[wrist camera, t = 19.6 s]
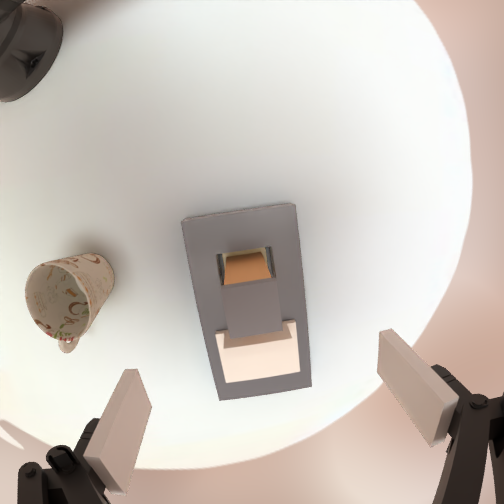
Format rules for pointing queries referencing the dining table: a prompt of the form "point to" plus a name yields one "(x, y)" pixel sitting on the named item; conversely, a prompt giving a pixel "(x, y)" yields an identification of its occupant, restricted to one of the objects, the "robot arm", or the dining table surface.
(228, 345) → the panel
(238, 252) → the socket
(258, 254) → the plug
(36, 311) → the mug
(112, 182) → the dining table surface
